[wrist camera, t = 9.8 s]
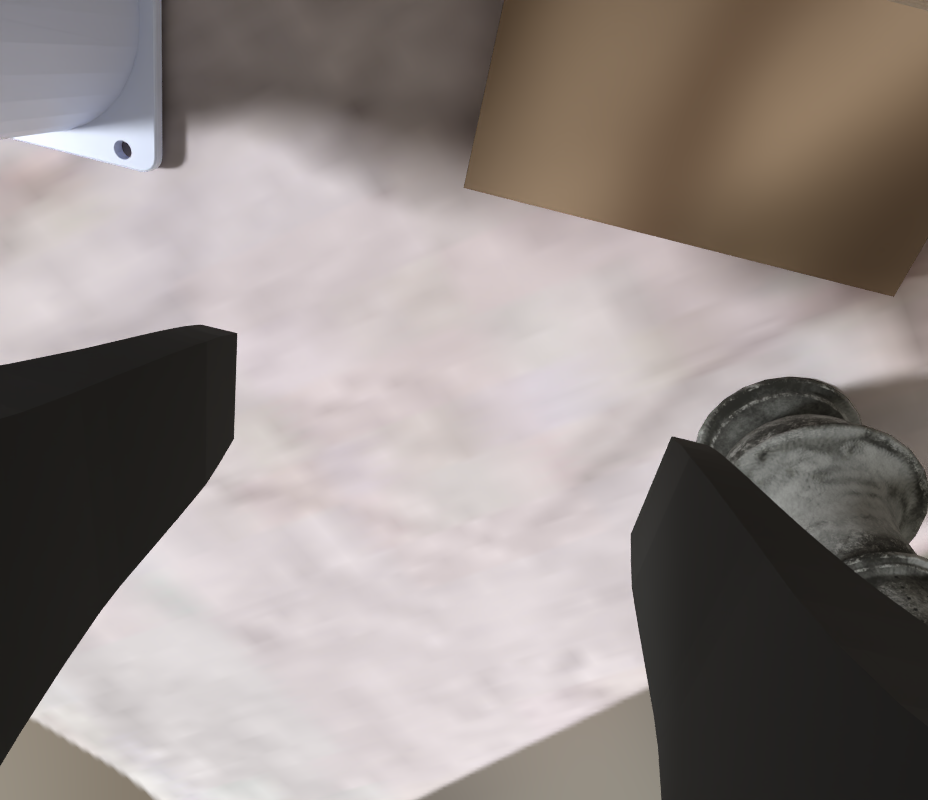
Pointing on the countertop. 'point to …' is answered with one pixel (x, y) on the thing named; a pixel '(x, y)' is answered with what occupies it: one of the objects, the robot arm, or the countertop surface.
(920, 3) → the square socket
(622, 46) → the board
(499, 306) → the countertop surface
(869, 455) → the salt shaker
